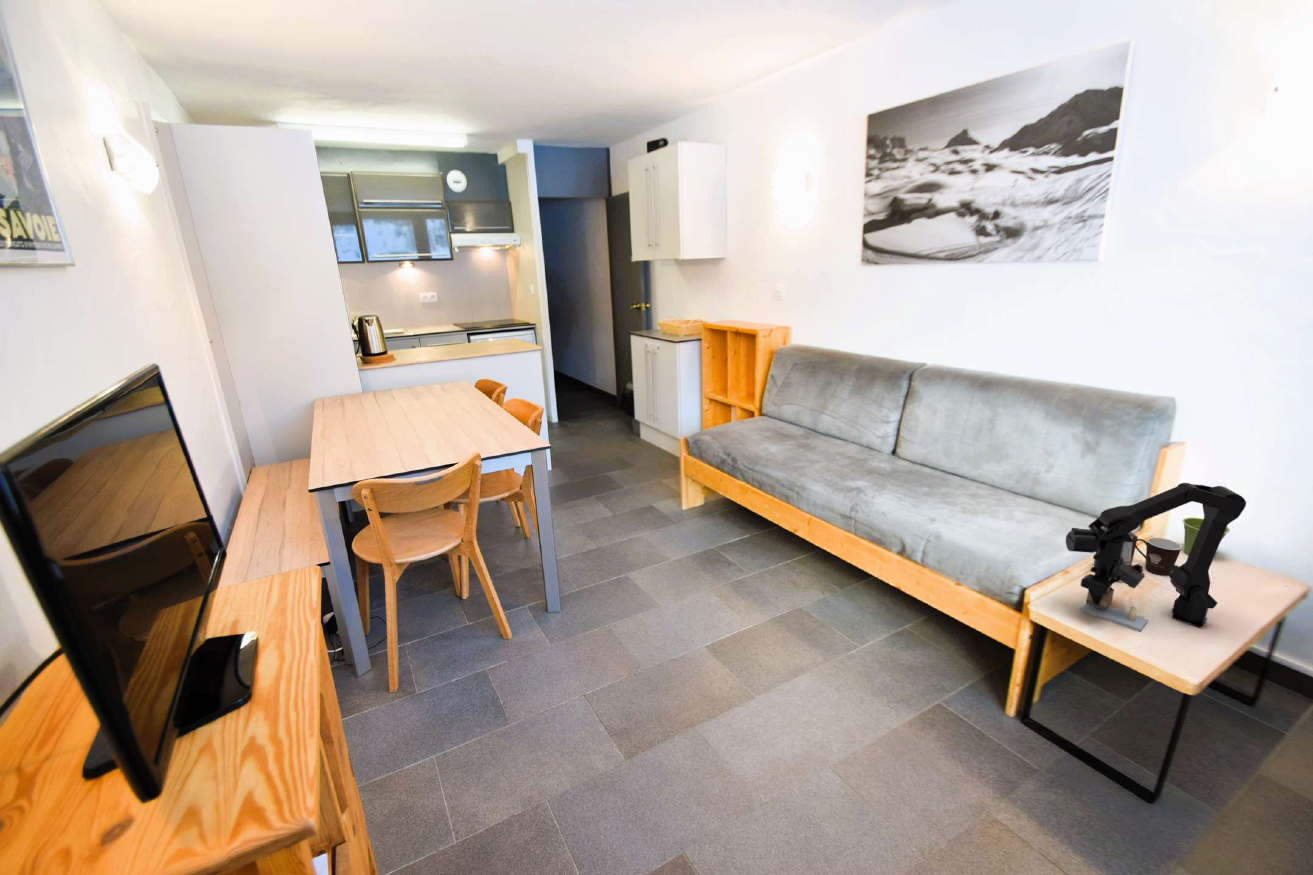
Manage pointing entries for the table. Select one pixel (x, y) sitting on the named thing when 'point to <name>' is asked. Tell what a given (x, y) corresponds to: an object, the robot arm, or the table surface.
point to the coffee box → (1127, 549)
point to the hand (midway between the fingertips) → (1099, 600)
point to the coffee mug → (1160, 555)
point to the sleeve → (1104, 601)
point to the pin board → (1118, 616)
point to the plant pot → (1193, 532)
